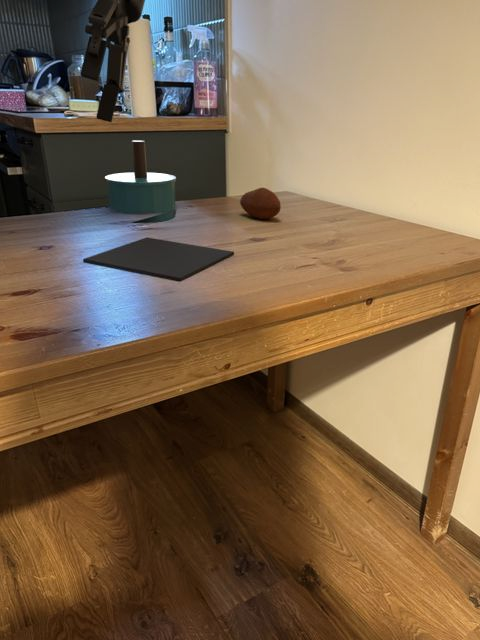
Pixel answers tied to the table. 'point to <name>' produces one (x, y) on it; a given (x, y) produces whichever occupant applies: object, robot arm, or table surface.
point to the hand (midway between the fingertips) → (97, 100)
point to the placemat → (160, 258)
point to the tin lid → (140, 171)
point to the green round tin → (144, 200)
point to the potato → (260, 203)
